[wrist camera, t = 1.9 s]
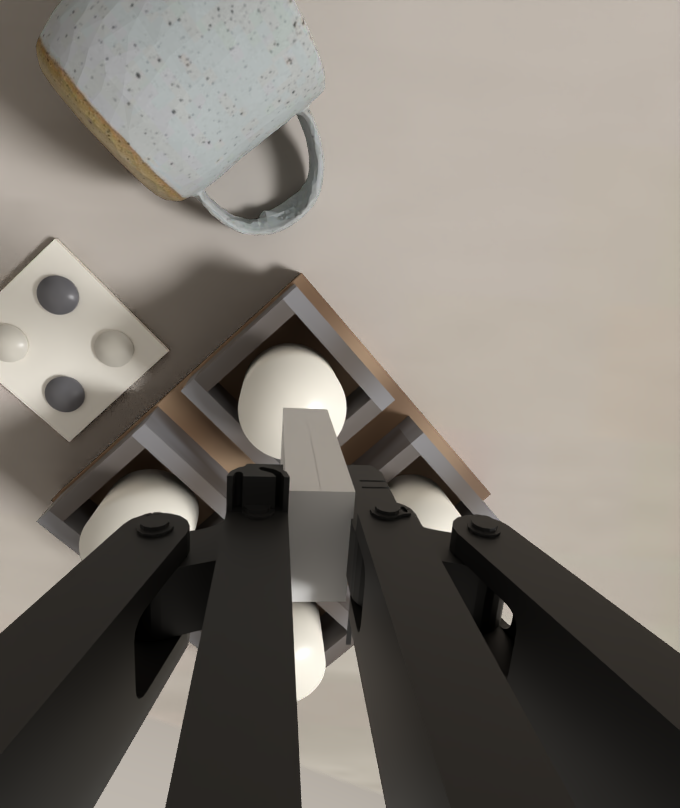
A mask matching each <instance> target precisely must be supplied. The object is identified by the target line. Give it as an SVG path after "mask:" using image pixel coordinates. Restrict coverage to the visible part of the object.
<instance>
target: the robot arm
mask: <svg viewBox="0 0 680 808" xmlns="http://www.w3.org/2000/svg"><path fill="white" fill-rule="evenodd" d="M347 582H348V586H349V590H350V603H349V614H348V625H347V636H346V645H351V639H352V637H353V641H354V646H355V651H356V656H357V662H358V667H359V672H360V677H361V682H362V687H363V692H364V697H365V702H366V707H367V712H368V718H369V723H370V728H371V733H372V738H373V743H374V748H375V753H376V758H377V763H378V768H379V774H380V779H381V784H382V789H383V794H384V799H385V804H386V808H680V653H679V652H677V651H676V650H675V649H673V648H672V647H671V646H669V645H668V644H667V643H665V642H664V641H662V640H661V639H660V638H658V637H657V636H656V635H654V634H653V633H652V632H650V631H649V630H648V629H646V628H645V627H644V626H642V625H641V624H640V623H638V622H637V621H636V620H634V619H633V618H632V617H630V616H629V615H628V614H626V613H625V612H624V611H622V610H621V609H619V608H618V607H617V606H615V605H614V604H613V603H611V602H610V601H609V600H607V599H606V598H605V597H603V596H602V595H601V594H599V593H598V592H597V591H595V590H594V589H593V588H591V587H590V586H589V585H587V584H586V583H585V582H583V581H582V580H581V579H579V578H578V577H576V576H575V575H574V574H572V573H571V572H570V571H568V570H567V569H566V568H564V567H563V566H562V565H560V564H559V563H558V562H556V561H555V560H554V559H552V558H551V557H550V556H548V555H547V554H546V553H544V552H543V551H542V550H540V549H539V548H538V547H536V546H535V545H533V544H532V543H531V542H529V541H528V540H527V539H525V538H524V537H523V536H521V535H520V534H519V533H517V532H516V531H515V530H513V529H512V528H511V527H509V526H508V525H506V524H504V523H502V522H501V521H499V520H496V519H493V518H491V517H489V516H485V515H483V516H482V515H479V514H475V515H464V516H461V517H457V518H456V519H455V520H454V521H453V524H452V531H451V532H445V531H439V530H434V529H430V528H425V527H423V526H422V524H421V523H420V521H419V519H418V517H417V515H416V514H415V512H414V511H413V510H412V509H411V508H409V507H407V506H405V505H403V504H400V503H397V502H396V500H395V498H394V496H393V494H392V492H391V490H390V489H389V486H388V484H387V482H386V480H385V478H384V476H383V474H382V472H380V471H379V470H377V469H376V468H374V467H373V466H371V465H346V463H345V460H344V457H343V454H342V451H341V448H340V445H339V442H338V439H337V436H336V433H335V430H334V427H333V424H332V422H331V419H330V416H329V413H328V410H327V409H306V408H283V418H282V440H281V461H280V464H246V465H245V466H243V467H238V468H236V469H234V470H232V471H230V472H229V474H228V475H227V495H226V515H225V520H224V521H222V522H221V523H219V524H217V525H214V526H211V527H208V528H204V529H199V530H193V531H190V525H189V523H188V521H187V520H186V519H185V518H183V517H181V516H179V515H175V514H171V513H162V512H153V513H147V514H144V515H141V516H138V517H135V518H132V519H131V520H129V521H127V522H126V523H124V524H123V525H122V526H121V527H119V528H118V529H117V530H116V531H115V532H114V533H113V534H112V535H110V536H109V537H108V538H107V539H106V540H105V541H104V542H103V543H101V544H100V545H99V546H98V547H97V548H96V549H95V550H94V551H92V552H91V553H90V554H89V555H88V556H87V557H86V558H85V559H83V560H82V561H81V562H80V563H79V564H78V565H77V566H76V567H74V568H73V569H72V570H71V571H70V572H69V573H68V574H67V575H66V576H64V577H63V578H62V579H61V580H60V581H59V582H58V583H57V584H55V585H54V586H53V587H52V588H51V589H50V590H49V591H48V592H46V593H45V594H44V595H43V596H42V597H41V598H40V599H39V600H37V601H36V602H35V603H34V604H33V605H32V606H31V607H30V608H28V609H27V610H26V611H25V612H24V613H23V614H22V615H21V616H19V617H18V618H17V619H16V620H15V621H14V622H13V623H12V624H10V625H9V626H8V627H7V628H6V629H5V630H4V631H3V632H1V633H0V808H93V807H94V806H95V804H96V802H97V801H98V799H99V797H100V795H101V794H102V792H103V790H104V788H105V787H106V785H107V784H108V782H109V780H110V778H111V777H112V775H113V773H114V771H115V770H116V768H117V766H118V765H119V763H120V761H121V759H122V757H123V756H124V754H125V753H126V751H127V749H128V747H129V746H130V744H131V742H132V740H133V739H134V737H135V735H136V734H137V732H138V730H139V728H140V727H141V725H142V723H143V722H144V720H145V718H146V716H147V715H148V713H149V711H150V710H151V708H152V706H153V704H154V703H155V701H156V699H157V698H158V696H159V694H160V692H161V691H162V689H163V687H164V685H165V684H166V682H167V680H168V679H169V677H170V675H171V673H172V672H173V670H174V668H175V667H176V665H177V663H178V661H179V660H180V658H181V656H182V655H183V653H184V651H185V649H186V648H187V646H188V642H189V639H190V633H191V632H195V631H199V630H202V632H201V637H200V641H199V646H198V651H197V656H196V661H195V666H194V671H193V675H192V680H191V685H190V690H189V695H188V700H187V705H186V710H185V714H184V719H183V724H182V729H181V734H180V739H179V744H178V748H177V753H176V758H175V763H174V768H173V773H172V778H171V783H170V788H169V792H168V797H167V802H166V807H165V808H302V807H301V785H300V763H299V741H298V719H297V697H296V675H295V653H294V632H293V610H292V602H336V601H346V594H347ZM504 602H505V603H506V604H507V605H508V607H509V608H510V609H511V611H512V613H513V618H512V623H511V625H508V624H507V623H506V622H505V621H504V620H503V619H502V618H501V615H502V609H503V604H504Z"/></svg>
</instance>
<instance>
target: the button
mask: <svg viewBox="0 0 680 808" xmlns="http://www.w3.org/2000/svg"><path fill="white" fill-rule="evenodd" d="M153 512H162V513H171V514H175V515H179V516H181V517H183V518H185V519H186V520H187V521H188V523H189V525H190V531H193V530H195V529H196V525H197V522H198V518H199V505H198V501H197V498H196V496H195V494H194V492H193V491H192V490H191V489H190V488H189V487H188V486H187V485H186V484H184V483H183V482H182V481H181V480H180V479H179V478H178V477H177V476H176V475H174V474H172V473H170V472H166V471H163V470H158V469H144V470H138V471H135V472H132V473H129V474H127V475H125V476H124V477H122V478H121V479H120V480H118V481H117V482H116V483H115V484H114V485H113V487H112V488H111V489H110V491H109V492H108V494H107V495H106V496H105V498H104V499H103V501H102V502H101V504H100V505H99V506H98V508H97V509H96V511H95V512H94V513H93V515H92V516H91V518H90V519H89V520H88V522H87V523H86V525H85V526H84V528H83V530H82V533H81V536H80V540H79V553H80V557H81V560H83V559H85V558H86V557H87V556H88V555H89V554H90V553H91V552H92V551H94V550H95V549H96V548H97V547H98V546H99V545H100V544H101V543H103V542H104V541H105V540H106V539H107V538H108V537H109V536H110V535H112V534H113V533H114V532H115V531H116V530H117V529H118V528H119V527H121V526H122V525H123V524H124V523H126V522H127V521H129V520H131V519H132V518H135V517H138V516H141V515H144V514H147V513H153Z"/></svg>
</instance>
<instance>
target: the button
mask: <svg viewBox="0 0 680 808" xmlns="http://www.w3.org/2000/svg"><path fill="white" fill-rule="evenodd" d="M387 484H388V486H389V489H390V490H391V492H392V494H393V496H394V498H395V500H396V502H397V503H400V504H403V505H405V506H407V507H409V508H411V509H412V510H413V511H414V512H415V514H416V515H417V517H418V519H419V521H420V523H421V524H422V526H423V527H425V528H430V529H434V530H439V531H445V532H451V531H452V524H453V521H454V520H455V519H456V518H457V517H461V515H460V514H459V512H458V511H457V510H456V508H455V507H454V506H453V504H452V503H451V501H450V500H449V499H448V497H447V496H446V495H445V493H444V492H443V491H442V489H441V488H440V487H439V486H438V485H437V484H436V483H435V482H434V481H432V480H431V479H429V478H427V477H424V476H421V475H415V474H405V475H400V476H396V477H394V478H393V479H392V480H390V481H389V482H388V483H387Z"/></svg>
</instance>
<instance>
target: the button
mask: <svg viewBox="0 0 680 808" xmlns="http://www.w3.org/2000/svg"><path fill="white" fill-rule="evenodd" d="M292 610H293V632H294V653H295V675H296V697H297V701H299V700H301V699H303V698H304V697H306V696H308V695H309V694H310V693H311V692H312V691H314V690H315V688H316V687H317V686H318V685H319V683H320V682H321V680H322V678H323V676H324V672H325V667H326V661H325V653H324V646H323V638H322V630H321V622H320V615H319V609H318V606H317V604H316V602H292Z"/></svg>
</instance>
